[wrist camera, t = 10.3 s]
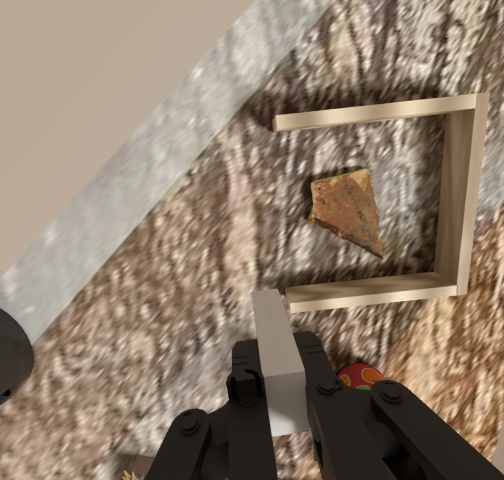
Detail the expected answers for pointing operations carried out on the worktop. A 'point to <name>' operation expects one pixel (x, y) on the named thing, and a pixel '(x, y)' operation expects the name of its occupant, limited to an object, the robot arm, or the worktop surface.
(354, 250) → the worktop surface
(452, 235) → the box
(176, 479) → the robot arm
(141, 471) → the pink bristle brush
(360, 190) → the shard
